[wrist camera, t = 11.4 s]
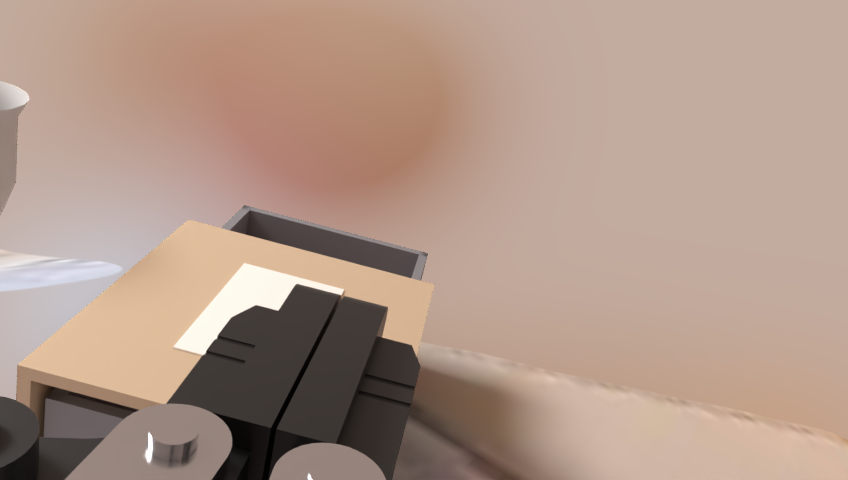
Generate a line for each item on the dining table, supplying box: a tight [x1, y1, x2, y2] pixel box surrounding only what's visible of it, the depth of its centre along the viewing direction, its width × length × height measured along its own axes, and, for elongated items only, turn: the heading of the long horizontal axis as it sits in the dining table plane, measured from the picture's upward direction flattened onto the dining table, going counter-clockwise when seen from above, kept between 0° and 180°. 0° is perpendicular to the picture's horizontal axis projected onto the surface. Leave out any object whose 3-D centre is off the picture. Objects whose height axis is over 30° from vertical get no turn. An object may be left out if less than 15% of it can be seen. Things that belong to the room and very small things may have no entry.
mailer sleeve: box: [16, 220, 434, 437], centre depth 43 cm, size 18×16×11 cm
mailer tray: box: [44, 206, 428, 439], centre depth 47 cm, size 26×14×8 cm, turn 173°
